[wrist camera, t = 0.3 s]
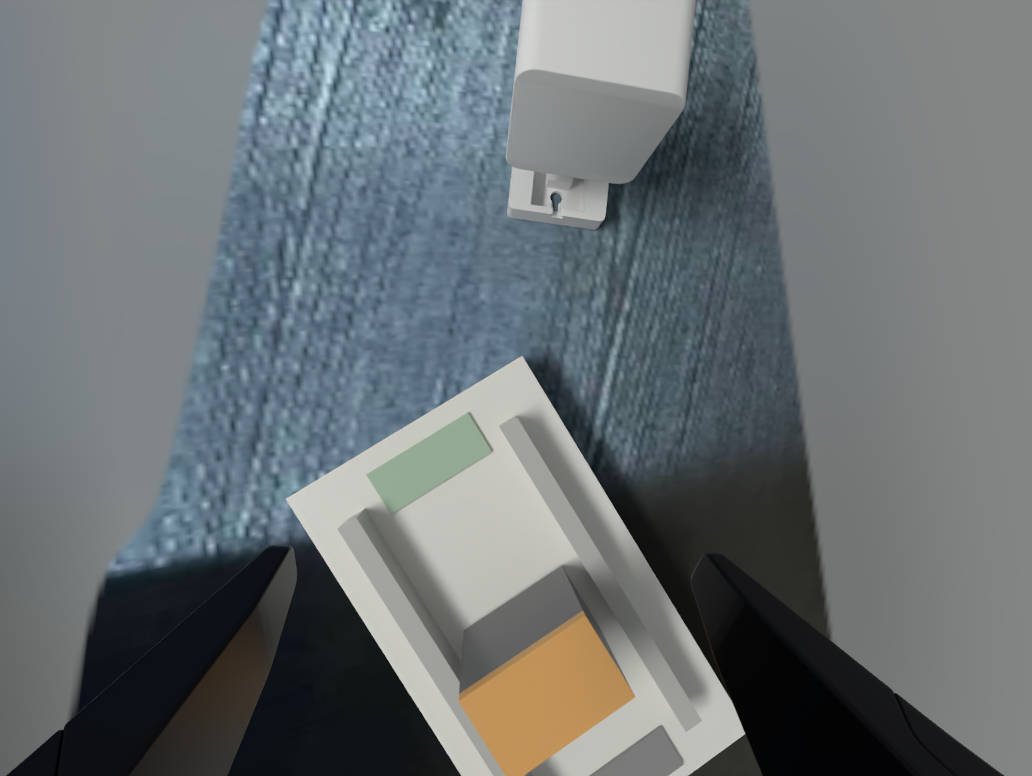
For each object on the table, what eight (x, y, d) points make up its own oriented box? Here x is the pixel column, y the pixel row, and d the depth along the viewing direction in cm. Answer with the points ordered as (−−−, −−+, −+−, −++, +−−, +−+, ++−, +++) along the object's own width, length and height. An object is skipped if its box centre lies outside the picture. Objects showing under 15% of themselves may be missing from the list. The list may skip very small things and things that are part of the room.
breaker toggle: (600, 629, 22) (635, 697, 17) (503, 695, 21) (510, 784, 16) (561, 565, 22) (585, 615, 17) (463, 630, 21) (458, 701, 16)
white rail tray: (727, 703, 25) (768, 754, 21) (528, 846, 24) (537, 925, 20) (518, 358, 24) (525, 353, 20) (302, 489, 23) (270, 507, 19)
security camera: (617, 116, 25) (710, -73, 15) (605, 231, 24) (691, 119, 15) (512, 98, 24) (534, -110, 14) (499, 216, 24) (513, 89, 14)
